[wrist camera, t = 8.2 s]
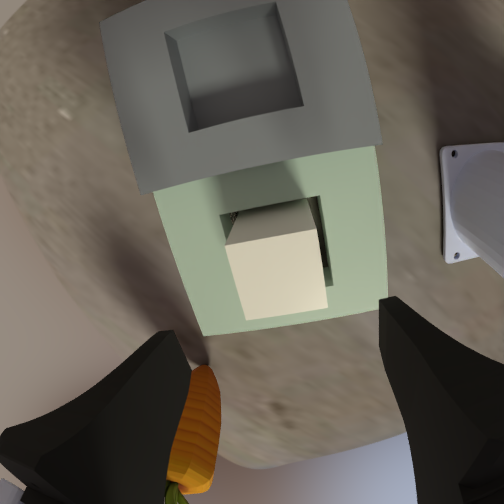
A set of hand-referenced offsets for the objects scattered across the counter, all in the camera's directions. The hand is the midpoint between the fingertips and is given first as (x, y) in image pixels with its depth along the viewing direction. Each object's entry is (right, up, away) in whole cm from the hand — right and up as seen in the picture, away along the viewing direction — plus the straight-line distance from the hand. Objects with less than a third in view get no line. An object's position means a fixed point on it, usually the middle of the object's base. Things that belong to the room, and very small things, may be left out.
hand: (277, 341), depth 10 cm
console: (0, +9, +7) cm, 11 cm away
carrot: (-5, -6, +14) cm, 16 cm away
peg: (+1, +4, +9) cm, 10 cm away
